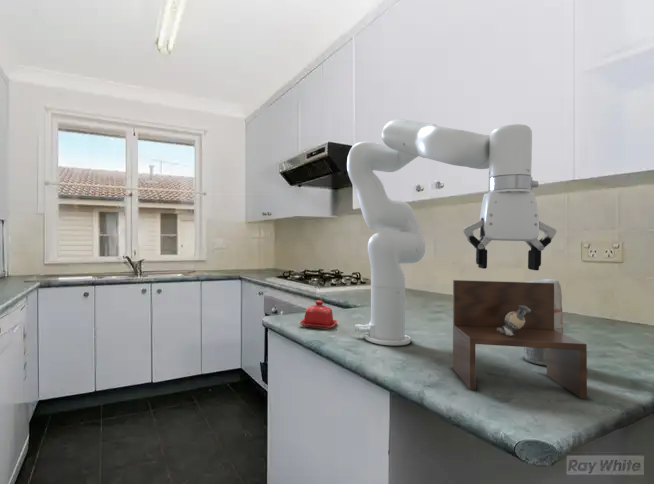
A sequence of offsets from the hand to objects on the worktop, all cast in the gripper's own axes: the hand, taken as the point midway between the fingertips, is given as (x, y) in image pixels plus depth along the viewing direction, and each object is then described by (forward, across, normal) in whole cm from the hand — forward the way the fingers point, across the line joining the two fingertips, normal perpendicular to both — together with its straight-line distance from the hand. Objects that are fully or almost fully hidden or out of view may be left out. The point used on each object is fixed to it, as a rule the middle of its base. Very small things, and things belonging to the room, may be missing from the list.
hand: (507, 268), depth 77 cm
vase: (+13, -1, +2) cm, 14 cm away
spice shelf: (+23, -1, +1) cm, 23 cm away
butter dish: (+24, +42, -41) cm, 63 cm away
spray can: (+23, -14, -15) cm, 31 cm away
